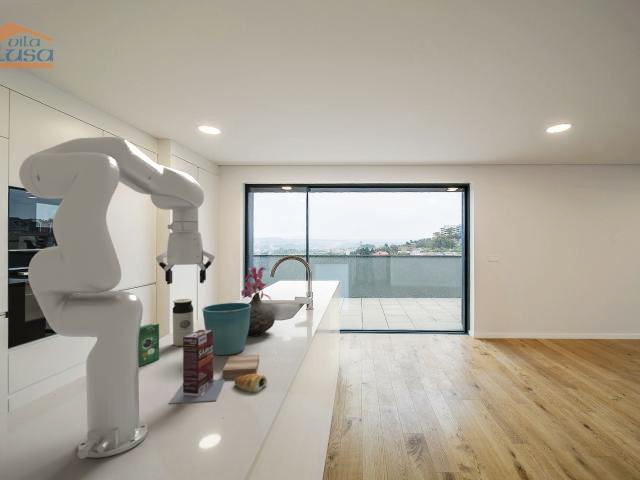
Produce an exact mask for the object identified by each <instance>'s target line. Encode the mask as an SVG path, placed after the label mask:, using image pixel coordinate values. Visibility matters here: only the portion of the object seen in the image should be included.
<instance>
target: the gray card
mask: <svg viewBox="0 0 640 480" xmlns="http://www.w3.org/2000/svg"><path fill="white" fill-rule="evenodd" d="M225 382H226V378H222V379H221V378H220V379H213V385H212V386H211V387H209V388H208V389H207V390H205V391H204V392H203V393H202V394H200V395H199V396H198V397H194V396H184V395H183V383H182V384H181V386H180V387H179V388H178V390H177V391H176V392H175V394H174V395H173V396H172V398H171V399H170V401H169V402H168V404H169V405H174V404H191V403H192V404H193V403H207V402H208V403H209V402H217V401H218V398H219V397H220V396H219V395H220V393H221V391H222V389H223V387H224V384H225Z"/></svg>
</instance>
